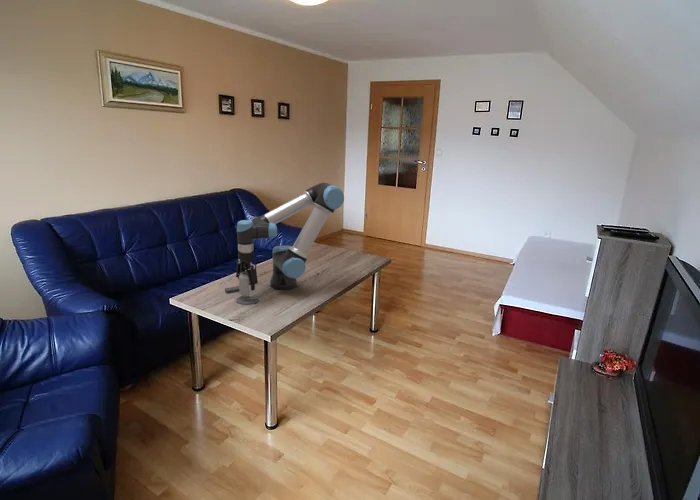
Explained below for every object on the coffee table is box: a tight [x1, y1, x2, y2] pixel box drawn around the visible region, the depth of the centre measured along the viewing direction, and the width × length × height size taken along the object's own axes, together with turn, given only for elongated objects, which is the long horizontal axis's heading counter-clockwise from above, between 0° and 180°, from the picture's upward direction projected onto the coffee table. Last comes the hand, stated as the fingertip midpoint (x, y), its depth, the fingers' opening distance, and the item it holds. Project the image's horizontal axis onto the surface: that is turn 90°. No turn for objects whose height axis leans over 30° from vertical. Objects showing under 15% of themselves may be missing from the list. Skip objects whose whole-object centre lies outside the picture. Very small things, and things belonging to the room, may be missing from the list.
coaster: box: [236, 295, 259, 306], centre depth 208 cm, size 11×11×1 cm
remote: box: [224, 285, 240, 295], centre depth 221 cm, size 14×4×2 cm, turn 122°
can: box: [238, 270, 250, 297], centre depth 206 cm, size 8×8×12 cm
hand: (247, 293), depth 207 cm, fingers closed on can, 7 cm apart
